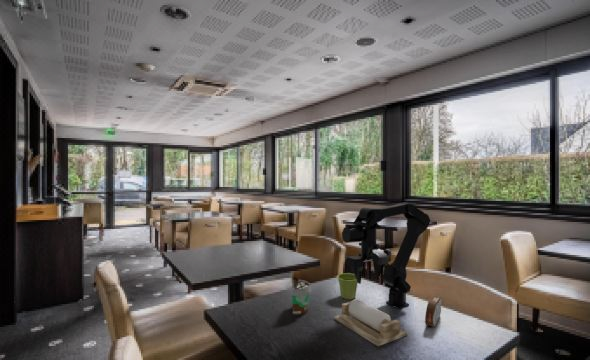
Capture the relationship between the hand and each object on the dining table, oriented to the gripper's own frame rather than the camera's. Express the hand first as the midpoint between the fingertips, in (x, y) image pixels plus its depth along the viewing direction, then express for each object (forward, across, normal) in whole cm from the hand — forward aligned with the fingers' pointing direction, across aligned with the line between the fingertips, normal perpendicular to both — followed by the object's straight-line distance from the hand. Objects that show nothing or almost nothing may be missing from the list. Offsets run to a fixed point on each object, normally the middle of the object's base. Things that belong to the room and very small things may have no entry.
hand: (368, 281), depth 119 cm
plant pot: (+11, +2, +14) cm, 18 cm away
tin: (+11, +13, -19) cm, 26 cm away
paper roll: (+10, -9, -10) cm, 17 cm away
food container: (+11, -22, +12) cm, 27 cm away
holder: (+11, -10, -10) cm, 18 cm away
